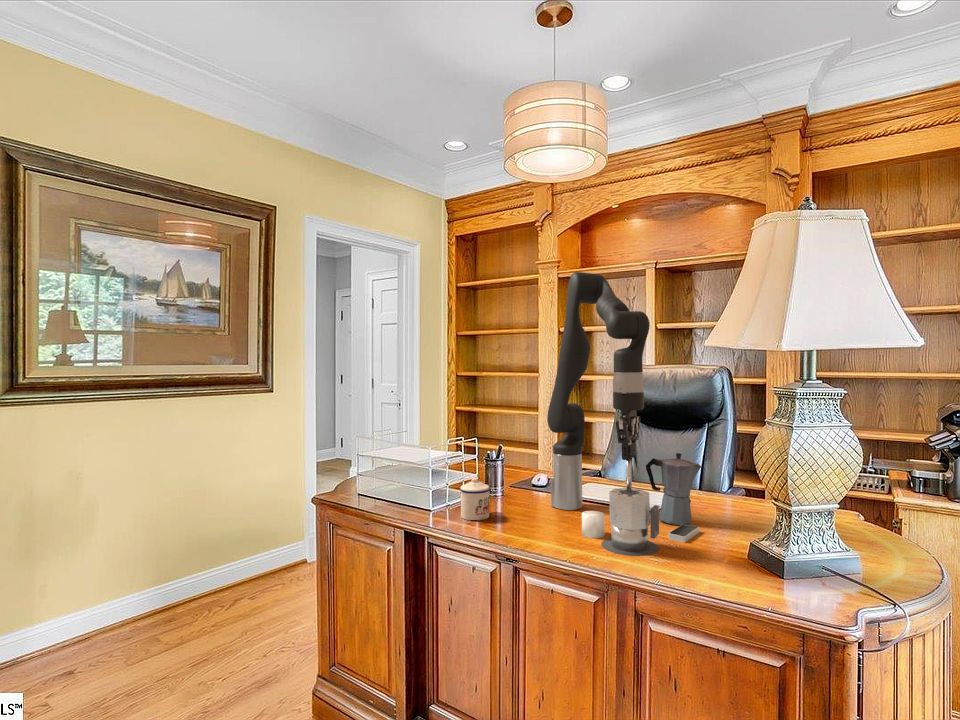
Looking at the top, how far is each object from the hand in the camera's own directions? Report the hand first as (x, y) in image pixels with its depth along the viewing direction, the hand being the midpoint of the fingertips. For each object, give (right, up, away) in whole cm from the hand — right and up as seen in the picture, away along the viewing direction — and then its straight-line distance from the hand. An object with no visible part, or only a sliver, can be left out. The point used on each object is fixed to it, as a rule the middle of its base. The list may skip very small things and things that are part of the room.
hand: (628, 458), depth 136 cm
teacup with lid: (-38, -23, +29) cm, 53 cm away
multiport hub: (+17, -23, +8) cm, 29 cm away
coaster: (0, -22, 0) cm, 22 cm away
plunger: (0, -9, 0) cm, 9 cm away
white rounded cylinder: (-7, -23, +9) cm, 25 cm away
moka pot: (+19, -23, +21) cm, 36 cm away
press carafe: (+1, -22, -1) cm, 22 cm away
